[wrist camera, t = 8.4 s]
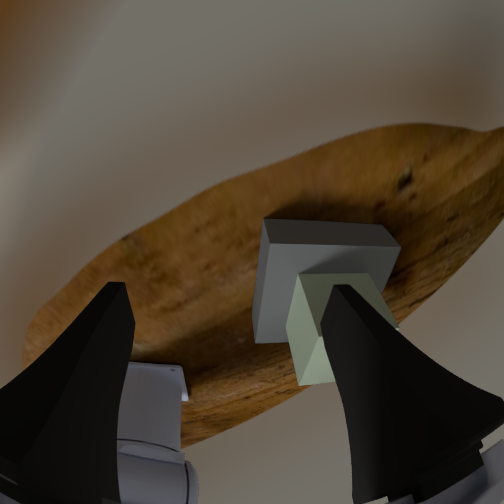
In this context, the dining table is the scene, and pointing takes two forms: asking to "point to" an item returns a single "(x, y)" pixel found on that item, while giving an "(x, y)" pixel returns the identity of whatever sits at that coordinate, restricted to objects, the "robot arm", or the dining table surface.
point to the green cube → (309, 317)
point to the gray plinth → (312, 264)
